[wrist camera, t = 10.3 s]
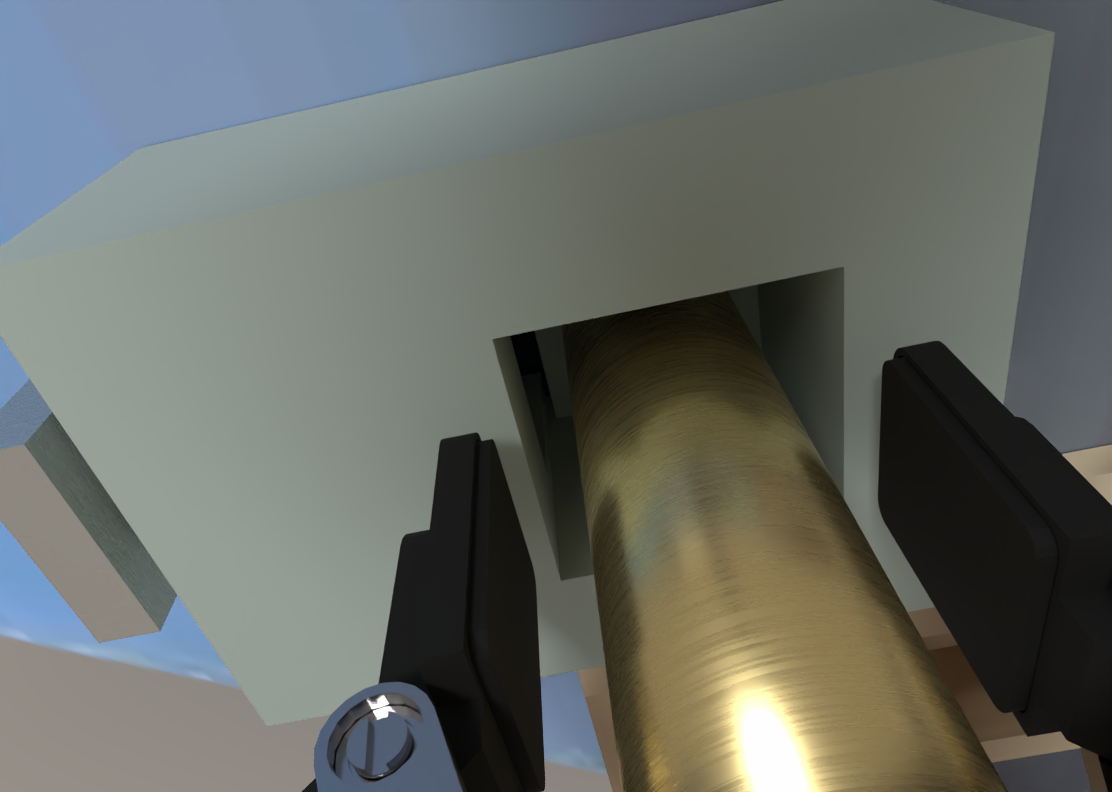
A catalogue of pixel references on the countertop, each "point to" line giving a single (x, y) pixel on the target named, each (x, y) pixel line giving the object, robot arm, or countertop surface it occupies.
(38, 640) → the countertop surface
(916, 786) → the gold cylindrical peg
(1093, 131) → the countertop surface
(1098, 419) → the countertop surface
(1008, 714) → the rack
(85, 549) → the t-shaped push slider
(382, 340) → the socket block
